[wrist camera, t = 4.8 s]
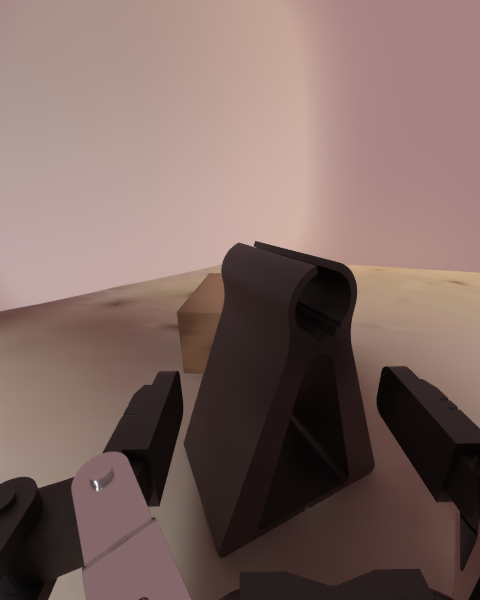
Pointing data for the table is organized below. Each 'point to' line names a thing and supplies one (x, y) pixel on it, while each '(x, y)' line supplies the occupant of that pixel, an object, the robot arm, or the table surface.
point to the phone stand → (277, 394)
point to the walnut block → (200, 323)
